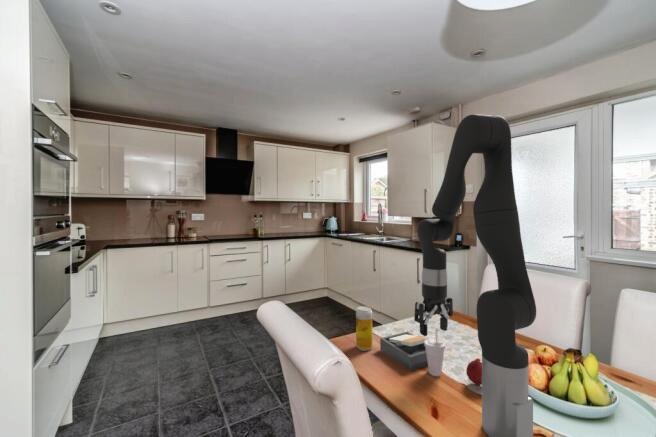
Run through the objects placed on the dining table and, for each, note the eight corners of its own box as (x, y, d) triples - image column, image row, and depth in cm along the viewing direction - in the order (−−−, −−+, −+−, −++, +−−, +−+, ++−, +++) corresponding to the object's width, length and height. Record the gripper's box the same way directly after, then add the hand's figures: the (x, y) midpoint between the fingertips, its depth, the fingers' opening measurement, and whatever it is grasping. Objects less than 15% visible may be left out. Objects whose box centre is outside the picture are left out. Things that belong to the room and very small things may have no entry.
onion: (476, 392, 82) (476, 364, 82) (462, 381, 88) (462, 355, 87) (493, 389, 84) (493, 361, 83) (478, 378, 89) (477, 352, 89)
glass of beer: (353, 346, 112) (353, 307, 111) (366, 342, 114) (366, 305, 114) (361, 352, 106) (361, 312, 106) (375, 349, 109) (375, 309, 108)
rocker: (431, 343, 100) (430, 336, 101) (409, 349, 96) (408, 342, 96) (408, 339, 111) (407, 333, 111) (387, 344, 106) (386, 338, 107)
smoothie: (447, 379, 89) (447, 334, 88) (425, 377, 90) (425, 332, 90) (443, 368, 95) (443, 326, 95) (423, 366, 96) (422, 324, 96)
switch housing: (439, 361, 100) (439, 348, 99) (410, 370, 94) (410, 357, 94) (407, 342, 114) (407, 331, 114) (380, 350, 108) (380, 338, 108)
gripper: (426, 287, 85) (426, 342, 86) (460, 281, 92) (459, 332, 92) (408, 282, 92) (408, 332, 92) (441, 276, 98) (440, 324, 99)
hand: (433, 332), depth 92 cm, fingers open, 8 cm apart
